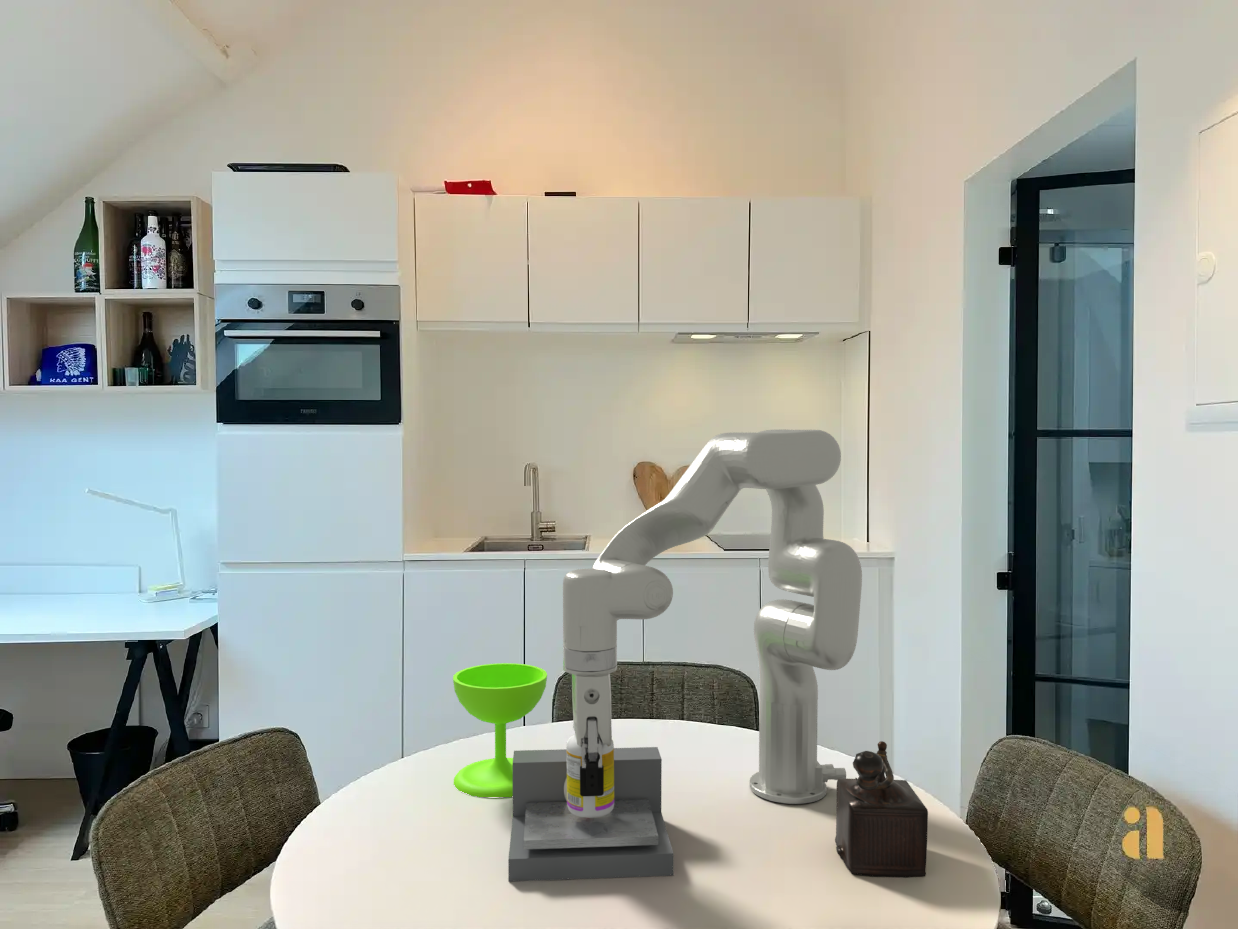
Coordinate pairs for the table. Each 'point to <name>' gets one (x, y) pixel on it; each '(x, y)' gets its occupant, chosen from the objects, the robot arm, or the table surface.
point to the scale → (547, 782)
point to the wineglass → (496, 718)
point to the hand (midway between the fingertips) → (590, 783)
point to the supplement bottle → (575, 801)
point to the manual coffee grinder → (880, 821)
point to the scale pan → (589, 826)
